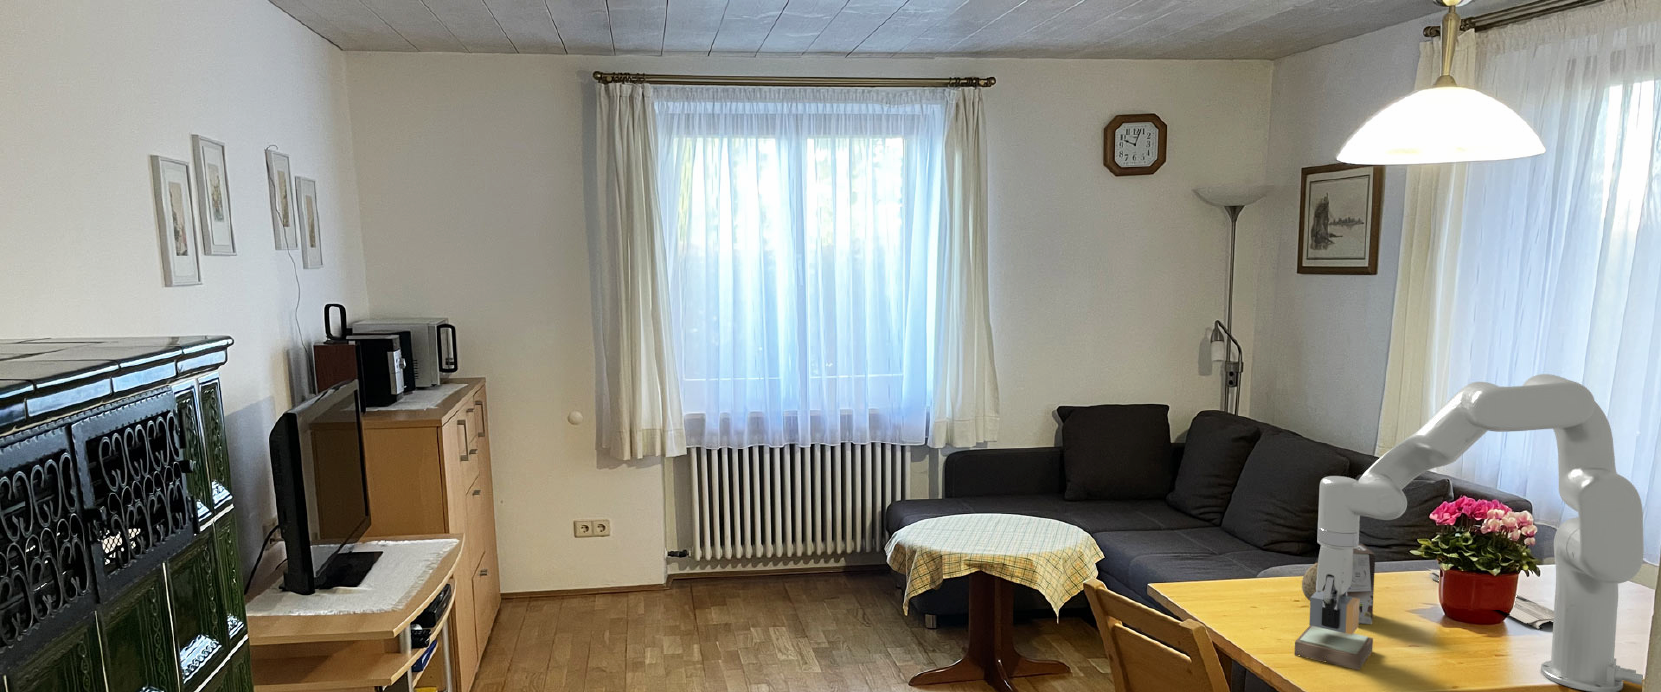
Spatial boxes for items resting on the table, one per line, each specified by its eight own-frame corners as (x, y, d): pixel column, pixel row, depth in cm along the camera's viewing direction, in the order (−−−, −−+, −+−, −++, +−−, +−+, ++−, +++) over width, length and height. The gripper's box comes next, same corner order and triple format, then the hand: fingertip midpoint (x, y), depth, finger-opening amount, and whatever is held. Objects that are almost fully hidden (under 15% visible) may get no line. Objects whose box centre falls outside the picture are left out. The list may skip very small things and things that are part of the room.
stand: (1372, 651, 202) (1373, 636, 202) (1359, 670, 193) (1359, 654, 193) (1310, 637, 210) (1310, 622, 209) (1294, 654, 201) (1295, 639, 200)
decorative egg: (1339, 603, 230) (1340, 562, 229) (1329, 611, 225) (1330, 569, 224) (1307, 596, 235) (1308, 556, 234) (1296, 604, 230) (1298, 562, 229)
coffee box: (1373, 624, 216) (1376, 554, 215) (1342, 622, 218) (1345, 552, 216) (1360, 610, 225) (1362, 542, 224) (1330, 608, 227) (1332, 541, 225)
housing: (1316, 617, 205) (1317, 590, 205) (1358, 626, 200) (1359, 598, 200) (1309, 625, 201) (1310, 597, 201) (1352, 634, 196) (1353, 605, 196)
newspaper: (1581, 630, 213) (1582, 614, 213) (1529, 632, 212) (1529, 617, 212) (1463, 577, 248) (1463, 564, 248) (1417, 580, 247) (1418, 566, 247)
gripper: (1328, 525, 208) (1325, 606, 210) (1306, 543, 195) (1303, 630, 197) (1367, 531, 203) (1363, 615, 205) (1348, 550, 190) (1344, 639, 192)
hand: (1334, 621), depth 201 cm, fingers closed on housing, 5 cm apart
